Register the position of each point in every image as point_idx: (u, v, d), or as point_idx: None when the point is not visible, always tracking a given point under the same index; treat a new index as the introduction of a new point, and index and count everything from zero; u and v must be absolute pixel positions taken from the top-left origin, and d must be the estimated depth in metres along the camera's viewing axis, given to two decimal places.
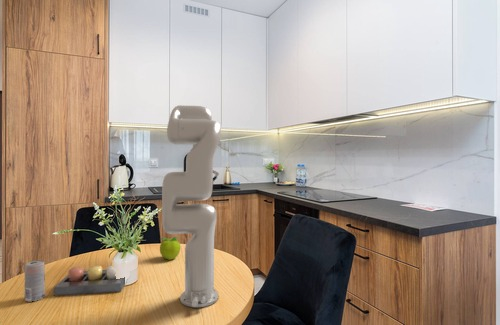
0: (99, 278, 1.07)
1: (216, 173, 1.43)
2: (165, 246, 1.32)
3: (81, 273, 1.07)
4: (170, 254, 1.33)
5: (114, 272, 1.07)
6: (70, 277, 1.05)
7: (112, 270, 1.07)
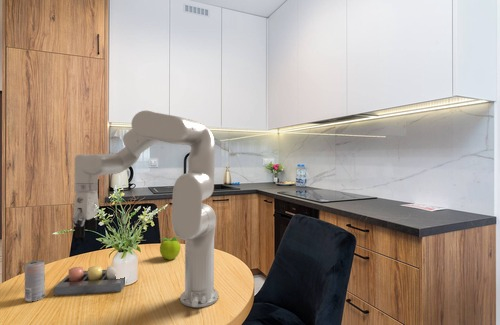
0: (99, 278, 1.07)
1: None
2: (165, 246, 1.32)
3: (81, 273, 1.07)
4: (170, 254, 1.33)
5: (114, 272, 1.07)
6: (70, 277, 1.05)
7: (112, 270, 1.07)
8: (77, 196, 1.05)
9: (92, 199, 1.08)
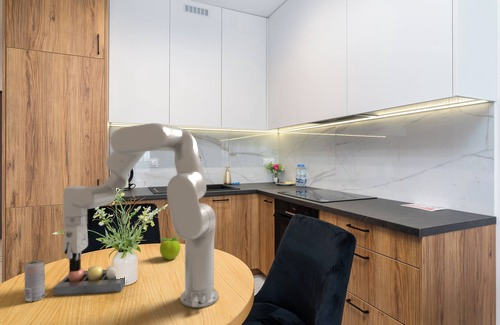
0: (99, 278, 1.07)
1: None
2: (165, 246, 1.32)
3: (81, 274, 1.07)
4: (170, 254, 1.33)
5: (114, 272, 1.07)
6: (70, 278, 1.05)
7: (112, 270, 1.07)
8: (66, 230, 1.02)
9: (82, 232, 1.06)
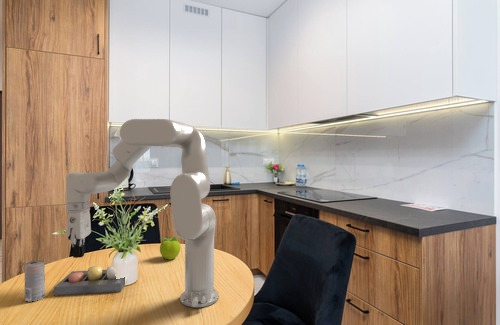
0: (99, 278, 1.07)
1: None
2: (165, 246, 1.32)
3: (81, 279, 1.07)
4: (170, 254, 1.33)
5: (114, 272, 1.07)
6: None
7: (112, 270, 1.07)
8: (69, 216, 1.02)
9: (85, 218, 1.06)
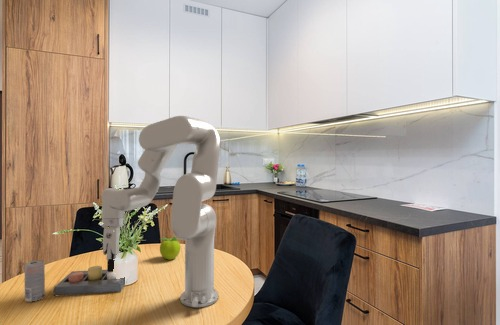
0: (99, 278, 1.07)
1: None
2: (165, 246, 1.32)
3: (81, 279, 1.07)
4: (170, 254, 1.33)
5: (114, 276, 1.07)
6: None
7: (112, 274, 1.07)
8: (106, 231, 1.04)
9: None
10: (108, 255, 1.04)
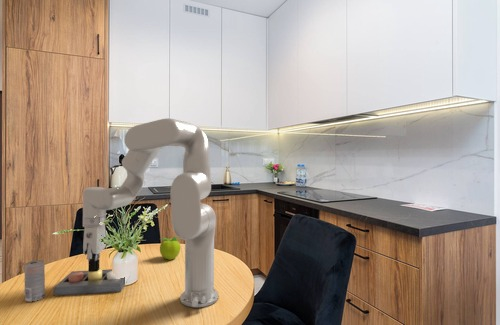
0: None
1: None
2: (165, 246, 1.32)
3: (81, 279, 1.07)
4: (170, 254, 1.33)
5: (114, 278, 1.07)
6: None
7: (112, 276, 1.07)
8: (86, 231, 1.03)
9: (101, 233, 1.07)
10: (88, 255, 1.03)
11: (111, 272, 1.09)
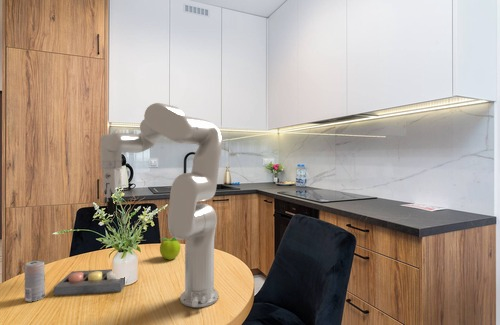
0: None
1: None
2: (165, 246, 1.32)
3: (81, 279, 1.07)
4: (170, 254, 1.33)
5: (114, 278, 1.07)
6: None
7: (112, 276, 1.07)
8: (105, 172, 1.13)
9: (118, 176, 1.17)
10: (108, 194, 1.13)
11: (111, 272, 1.09)
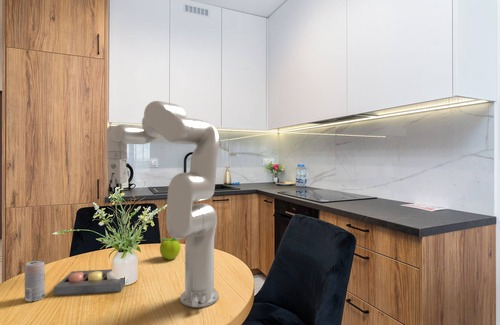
0: None
1: None
2: (165, 246, 1.32)
3: (81, 279, 1.07)
4: (170, 254, 1.33)
5: (114, 278, 1.07)
6: None
7: (112, 276, 1.07)
8: (111, 162, 1.17)
9: (123, 166, 1.21)
10: (113, 183, 1.17)
11: (111, 272, 1.09)
